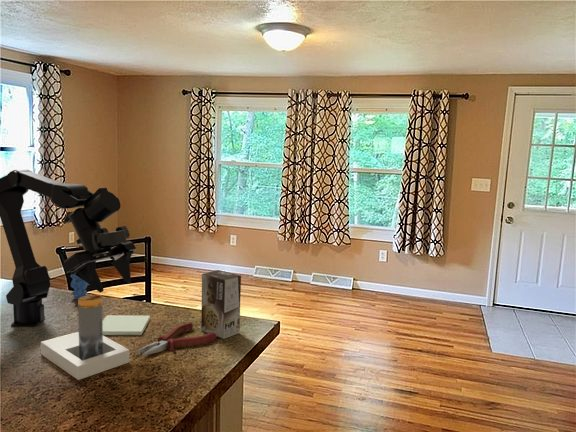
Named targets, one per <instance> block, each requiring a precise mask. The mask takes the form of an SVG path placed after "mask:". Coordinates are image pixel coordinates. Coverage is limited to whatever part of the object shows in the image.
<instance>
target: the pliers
mask: <svg viewBox="0 0 576 432" xmlns="http://www.w3.org/2000/svg"><path fill="white" fill-rule="evenodd" d="M193 328H194V325H193V324H192V323H191V322H188V323H184V324H181V325H177V326H175V328H173V329H172V330H171V331H170V332H169V333H168V334H167V335H166V336H163V335H160V336H159V337H157V341H155V342H152V343H149V344H148V345H145V346H143V347H140V348H139V349H138V350H136V351H134V353H135V354H139V353H142V354H141V357H145V356H149V355H153V354H156V353H160V352H161V353H162V352H163V351H164V350H170V351H174V349H178V348H180V349H181V348H189V347H197V346H204V345H207V344H210V343H211V342H214V341H216V339H217V336H216V334H215V333H214V332H211V333H206V334H204V335H203V334H202V335H199V336H191V337H190V336H189V337H188V336H187V337H179V338H177V337H178V336H179V335H181V334H183V333H186V332H189V331H193Z"/></svg>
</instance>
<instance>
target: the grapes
mask: <svg viewBox="0 0 576 432" xmlns="http://www.w3.org/2000/svg"><path fill="white" fill-rule="evenodd" d="M73 272H74V271H73ZM70 274H71V273H70ZM70 278H72V280H71V282H70V287H71V288H72V289H74V290H73V291H72V292H71V295H72V296H73V297H74V299H75V300H77V301H78V299H79V298H80V297H83V296H87V294H88V291H87V290H86V289H87V288H88V286H90V285H89V284H88V283H87V282H85V281H84V280H82V279H81V278H79V277H78V276H76V275H72V274H71V275H70Z"/></svg>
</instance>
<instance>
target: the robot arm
mask: <svg viewBox="0 0 576 432" xmlns="http://www.w3.org/2000/svg"><path fill="white" fill-rule="evenodd" d="M29 190H30V191H31V192H35V193H37V194H39V195H42V196H45V197H47V198H49V199H50V200H51V203H53V204H54V205H56V206H57V207H59V208H60V209H62V210H67V209H68V210H69V209H75V210H74V211H73V210H72V211H67V212H66V215H65V217H64V219H63V223H64V224H68V223H71V224H72V227H73V228H74V231H75V233H76V235H77V237H78V239H77V240H76V244H77V245H81V246H82V247H83V250H84V251H83V250H82V251H79V252H75V253H73V254H72V255H70V256H69V257H68V258H66V259H65V260H64V261H63V264H62V267H63V269H64V271H65V274H68V273H70V274H72V275H76V276H78V277H79V278H81V279H82V280H84V281H85V282H87V283H88V284H89V286H91V287H92V288H93V289H94V290H96V291H97V292H98V293H100V294H101V293H103V292H104V287H103V283H102V282H101V279H100V276H99V275H98V272H97V270H96V267H97V266H96V264H97V263H96V262H97V261H101V260H104V259H110V260H112V262H111V264H112V265H113V267H114V269H116V270H117V273H119V275H120V276H121V278H122V279H123V280H124V281H125V282H126V283H127V284H130V283H131V282H132V278H131V277H132V276H131V265H130V262H131V261H130V260H131V257H132V255H134V254H135V253H134V252H135V251H136V250H137V247H136V246H135V243H134V242H133V241H130V240H128V241H127V239H129V238H130V231H129V229H128V228H127V227H126V225H122V226H117V227H116V228H115V231H110V232H109V229H108V228H106V227H103V228H102V226H101V225H100V223H102V222H104V221H105V220H107V219H108V218H110V217H112V215H114V214H115V213H117V212H118V211H119V210H120V209H121V202H120V201H121V200H120V199H119V197H117V196H116V195H115V194H114V193H113V192H110V191H108V189H107V187H99V188H98V189H96V190H95V192H94V193H93V192H92V191H90V190H89V188H88V187H87V185H84V184H80V183H79V184H78V183H69V182H61V181H57V180H54V179H51V178H49V177H46V176H43V175H41V174H38V173H36V172H33V171H31V170H29V169H14V170H12V171H11V170H10V171H9V173H7V174H6V175H4V176H2V177H0V221H1V224H2V227H3V231H4V234H5V236H6V240H7V244H8V246H9V250H10V254H11V256H12V260H13V263H14V266H15V269H14V272H13V275H12V278H11V280H12V284H13V286H12V287H11V289H10V290H9V291H8V293H7V294H6V295H5V299H6V302H7V304H10V305H12V307H13V308H12V309H13V311H12V312H13V322H12V323H10V326H11V327H37V326H38V325H39V324H40V323H41V322H42V321H43V320H45V318H46V316H45V304H43V299H47V298H48V294H49V290H50V288H51V277H50V275H49V271H48V268H47V266H46V265H42V266H41V264H39V263H38V262H37V261H36V258H35V254H34V252H33V247H32V245H31V241H30V238H29V235H28V232H27V228H26V224H25V222H24V218H23V216H22V215H23V214H22V208H23V205H24V202H25V199H24V196H25V194H26V193H28V192H29ZM73 271H74V272H73Z"/></svg>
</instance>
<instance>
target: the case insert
mask: <svg viewBox="0 0 576 432" xmlns="http://www.w3.org/2000/svg"><path fill="white" fill-rule="evenodd" d="M40 354H41V355H42V356H43V357H44V358H46V359H48V360H49V361H51V362H52V363H53V364H54V365H56V366H57V367H59V368H60V369H62V370H63V371H65V372H66V373H67V374H68V375H70V376H71V377H73V378H75V380H77V381H79V380H83V379H85V378H89V377H91V376H94V375H96V374H99V373H102V372H106V371H107V370H110V369H113V368H117V367H119V366H123V365H125V364H128V363H130V349H128V348H127V347H126V346H123V345H121V344H119V343H118V342H116V341H114V340H112V339H110V338H109V337H107V336H106V335H103V354H102V355H98V356H95V357H92V358H89V359H86V360H83V361H82V360H81V359H79V331H75V332H72V333H69V334H65V335H60V336H57V337H52V338H50V339H46V340H42V341H40Z"/></svg>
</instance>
